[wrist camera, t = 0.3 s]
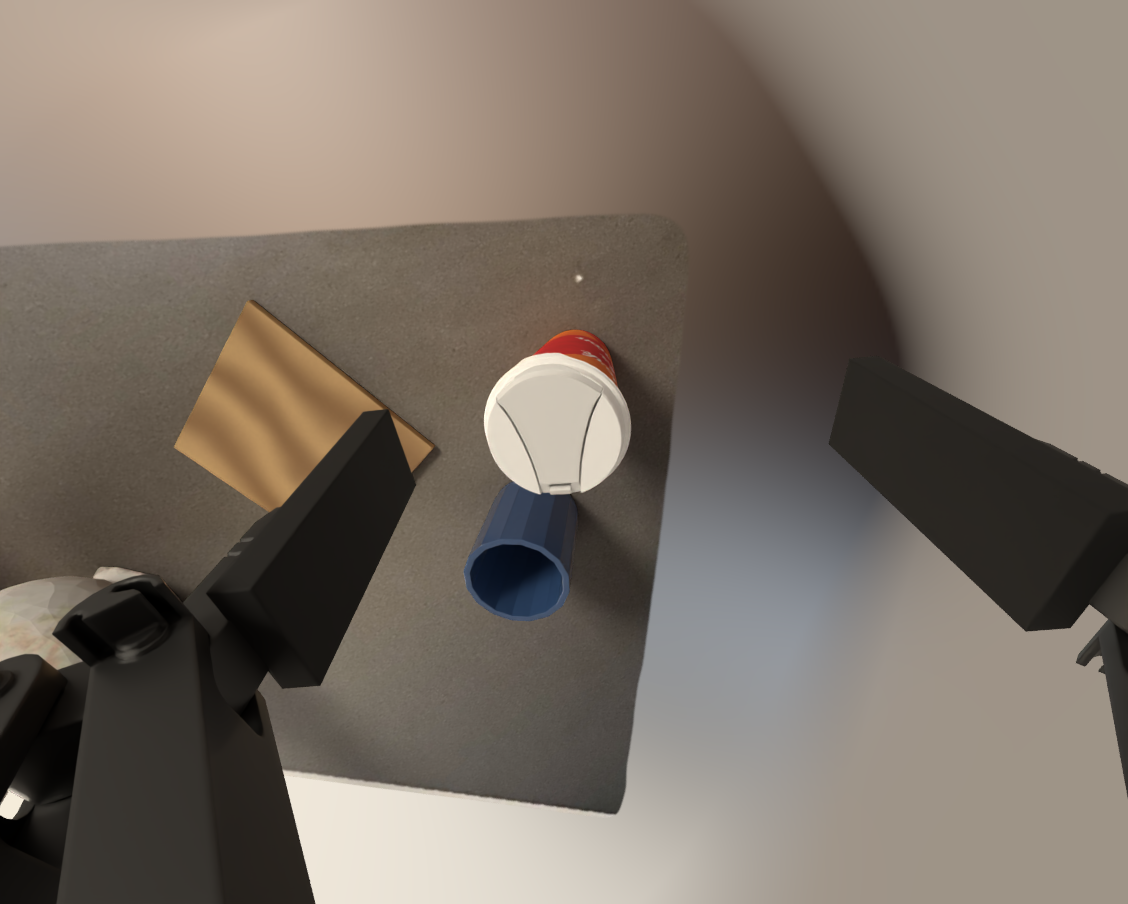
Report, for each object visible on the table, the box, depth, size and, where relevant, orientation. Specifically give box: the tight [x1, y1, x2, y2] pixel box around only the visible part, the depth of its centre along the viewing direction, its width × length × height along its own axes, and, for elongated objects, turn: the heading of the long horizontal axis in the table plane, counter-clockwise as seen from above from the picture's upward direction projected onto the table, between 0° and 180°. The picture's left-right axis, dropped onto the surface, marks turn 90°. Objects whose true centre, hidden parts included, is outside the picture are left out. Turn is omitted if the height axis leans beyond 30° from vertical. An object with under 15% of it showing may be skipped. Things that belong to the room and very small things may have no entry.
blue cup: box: [464, 482, 578, 621], centre depth 36 cm, size 8×8×9 cm
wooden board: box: [174, 300, 435, 512], centre depth 39 cm, size 18×18×1 cm
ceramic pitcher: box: [0, 567, 145, 805], centre depth 41 cm, size 22×20×25 cm
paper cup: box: [484, 330, 631, 495], centre depth 28 cm, size 8×8×14 cm
